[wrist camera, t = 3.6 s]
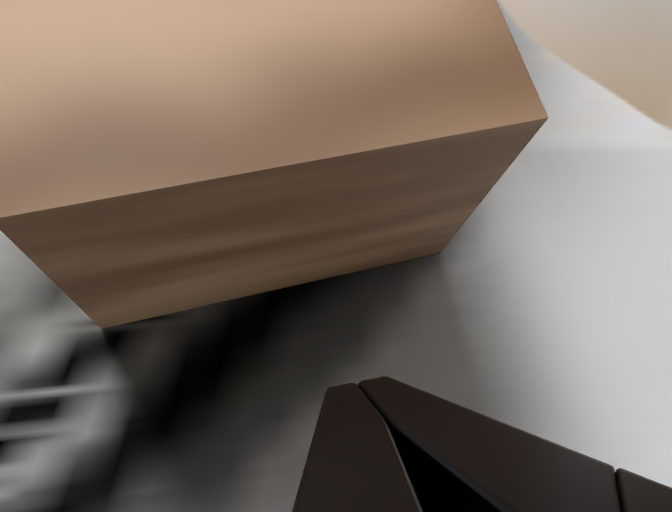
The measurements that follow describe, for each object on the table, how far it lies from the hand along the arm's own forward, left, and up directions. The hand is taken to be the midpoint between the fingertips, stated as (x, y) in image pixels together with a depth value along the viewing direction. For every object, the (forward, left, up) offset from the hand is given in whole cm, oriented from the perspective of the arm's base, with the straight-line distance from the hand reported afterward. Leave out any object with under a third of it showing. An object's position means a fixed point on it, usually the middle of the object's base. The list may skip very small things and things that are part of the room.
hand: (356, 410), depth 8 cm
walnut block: (+12, -2, -12) cm, 17 cm away
